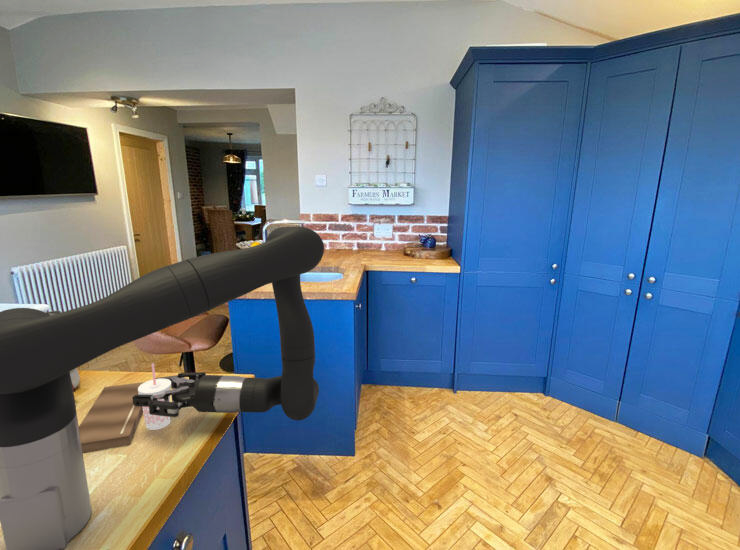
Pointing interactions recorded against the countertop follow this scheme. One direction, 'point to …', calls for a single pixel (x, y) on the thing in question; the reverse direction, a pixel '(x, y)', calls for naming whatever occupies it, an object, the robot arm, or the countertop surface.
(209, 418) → the countertop surface
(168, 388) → the beverage cup
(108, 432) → the walnut board
